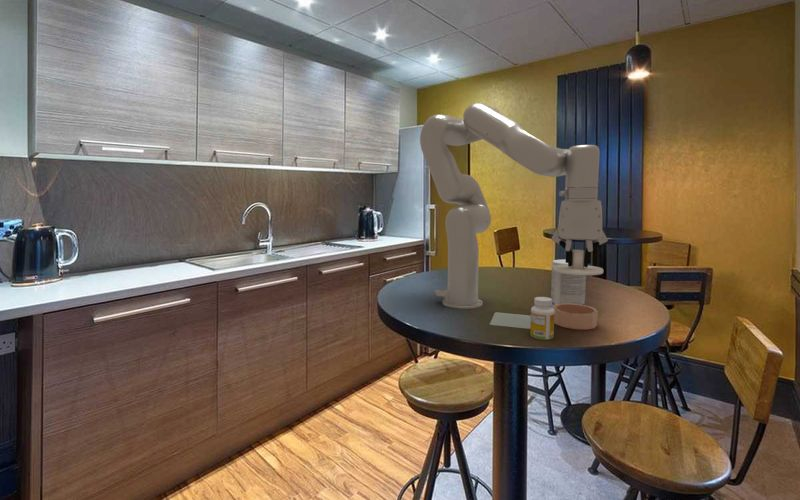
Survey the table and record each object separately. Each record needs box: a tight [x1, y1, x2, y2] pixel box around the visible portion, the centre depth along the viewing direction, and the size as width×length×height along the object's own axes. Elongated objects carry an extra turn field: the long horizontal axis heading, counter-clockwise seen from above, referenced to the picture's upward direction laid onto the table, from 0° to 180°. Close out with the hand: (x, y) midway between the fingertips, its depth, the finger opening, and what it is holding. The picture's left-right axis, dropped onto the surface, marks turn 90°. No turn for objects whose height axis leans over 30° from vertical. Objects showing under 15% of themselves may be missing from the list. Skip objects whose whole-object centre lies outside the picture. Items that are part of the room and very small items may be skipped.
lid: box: [553, 249, 604, 276], centre depth 102 cm, size 12×12×5 cm
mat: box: [489, 311, 531, 330], centre depth 107 cm, size 12×12×1 cm
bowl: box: [552, 303, 599, 330], centre depth 104 cm, size 11×11×4 cm
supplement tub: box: [550, 258, 587, 308], centre depth 119 cm, size 10×10×15 cm
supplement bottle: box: [529, 296, 555, 340], centre depth 94 cm, size 5×5×10 cm
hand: (577, 265), depth 102 cm, fingers closed on lid, 3 cm apart
